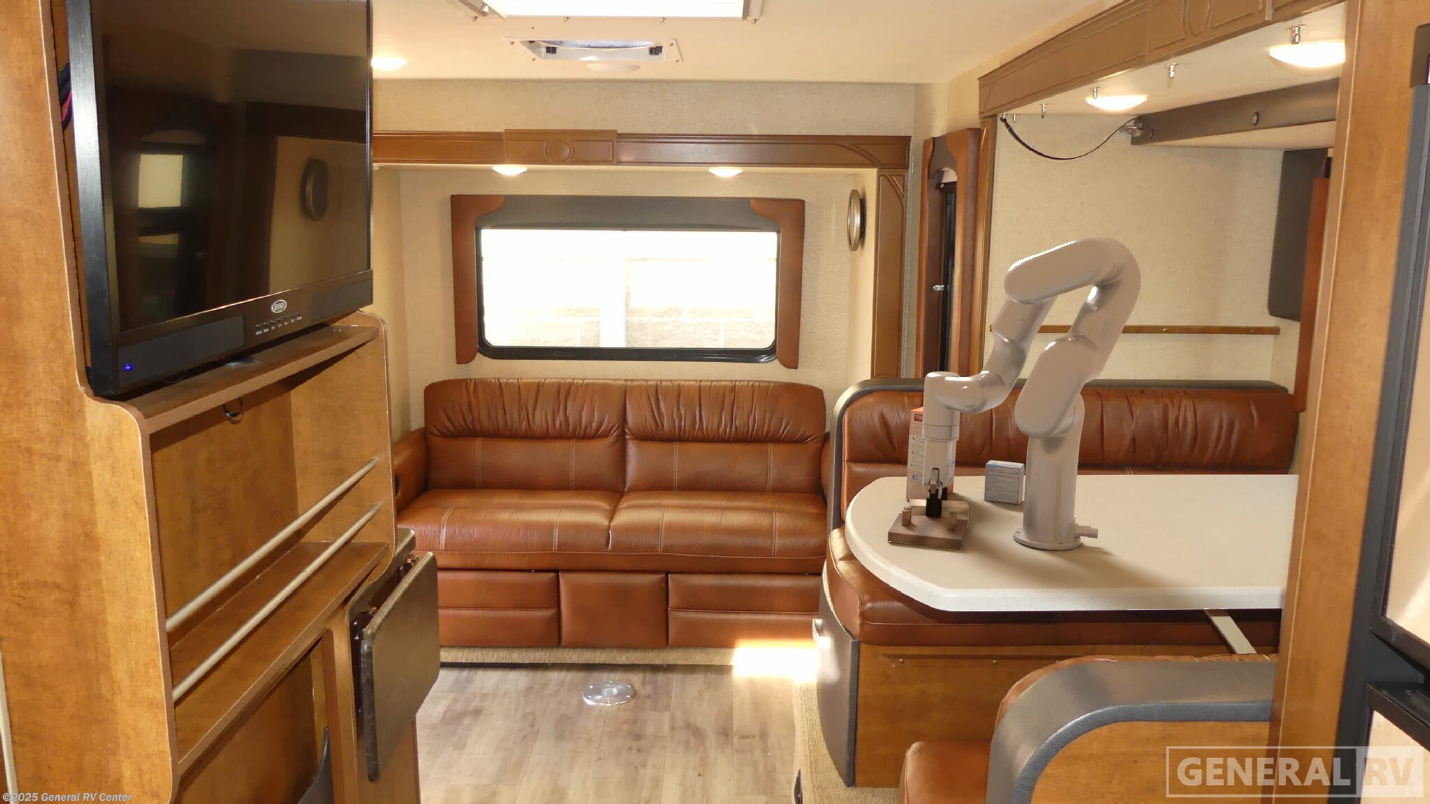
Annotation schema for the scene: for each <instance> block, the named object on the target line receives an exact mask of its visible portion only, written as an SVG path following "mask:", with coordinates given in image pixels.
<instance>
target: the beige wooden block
mask: <svg viewBox="0 0 1430 804" xmlns="http://www.w3.org/2000/svg"><path fill="white" fill-rule="evenodd" d="M908 507H912V515H923V516H926V500H919V499H909V500H908ZM949 511H956V512H957V519H963V520H968V526H969V523H970V522H969V520H970V506H969V503H968V501H963V500H961V501H960V500H947V501H944V500H942V516H941V517H943V518H948V514H949Z"/></svg>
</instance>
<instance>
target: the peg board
mask: <svg viewBox="0 0 1430 804" xmlns="http://www.w3.org/2000/svg"><path fill="white" fill-rule="evenodd" d="M968 526H969V525H968V520H963V519H957V512H956V511H949V514H948V518H943V517H941V518H936V517H927V516H923V515H912V507H909V506H904V507H903V509H902V510H901V512H900V513H898V514H897V516H896V519H894V522H893V523H892V525H891V527H890V528H889V530H888V532H887V542H888V541H891V542H890V543H894V542H902V543H901V544H903V543H907V544H906V545H912V544H916V545H915V546H924V547H934V548H941V549H952V550H962V547H963V545H964V544H963V543H964V541H965V538H966V535H967V532H968V528H969V527H968Z"/></svg>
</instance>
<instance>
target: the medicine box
mask: <svg viewBox="0 0 1430 804" xmlns="http://www.w3.org/2000/svg"><path fill="white" fill-rule="evenodd" d="M984 473H985V474H984V490H983V491H984V493H983V494H984V495H983V501H987V502H988V501H989V502H996V503H1002V504H1003V503H1004V504H1005V503H1006V504H1010V505H1011V504H1012V505H1020V504H1021V502H1022V501H1024V484H1025V480H1024V479H1025V464H1024V463H1019V462H1012V461H1011V462H1010V461H1002V460H988V462H986V464H985V472H984Z"/></svg>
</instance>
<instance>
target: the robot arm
mask: <svg viewBox="0 0 1430 804" xmlns="http://www.w3.org/2000/svg"><path fill="white" fill-rule="evenodd" d="M1141 284H1142V277H1141V270H1140V266H1139V263H1138V261H1137V259H1136V257H1135V256H1134V254H1133V253H1132V251H1131V250H1130V249H1129V247H1127V246H1126V245H1125V244H1123V243H1122V242H1121V241H1119V240H1117V239H1114V238H1113V237H1112V238H1111V237H1107V236H1106V237H1105V236H1097V237H1083V238H1078V239H1075V240H1072V241H1070V242H1067V243H1064V244H1061V245H1058V246H1056V247H1053V248H1050V249H1048V250H1044V251H1042V252H1040V253H1038V254H1034V255H1031V256H1028V257H1025V258H1024V259H1020V260H1018V261H1016V262H1015V263H1013V264H1012V265H1011V266H1010V267H1009V269H1008V270H1007V271H1006V274H1005V276H1004V280H1003V287H1004V292H1005V294H1006V296H1005V299H1004V300H1003V302H1002V304H1001V306H1000V307H999V309H998V311H997V313H996V315H995V317H994V318H993V320H992V322H991V324H990V325H991V327H990V328H991V332H992V334H993V338H994V341H993V342H994V343H993V346H992V350H991V352H990V355H989V357H988V359H987V360H986V362H985V363H984V366H983V367H982V369H981V371H980V372H979V373H978V374H974V375H970V376H965V377H961V376H960V375H959V374H957V373H956V372H951V371H932V372H929V373H927V374H926V376H925V378H924V383H923V384H924V385H923V386H924V388H923V406H922V407H923V423H922V438H923V439H926V445H925V454H924V466H923V478H922V485H923V486H924V487H925V486H926V485H928V483H929V485H928V493H927V498H926V516H927V517H936V518H941V516H942V500H944V501H948V494H947V492H948V487H947V483H948V481H949V478H950V472H951V462H952V446H953V441H956V442H957V441H959V440H960V439H959V438H960V421H961V413H964V414H967V415H968V414H969V415H976V414H981V413H983V412H985V411H988V410H991V409H994V408H996V407H998V406H1000V405H1001V404H1003V403H1004V402H1005V400H1006V399H1007V398H1008V397H1009V395H1010V393H1011V392H1012V390H1013V388H1014V386H1015V384H1016V383H1017V381H1018V379H1019V377H1021V374H1022V372H1023V370H1024V367H1025V366H1026V362H1027V359H1028V357H1029V356H1028V355H1029V353H1030V350H1031V347H1032V346H1031V345H1032V343H1033V341H1034V339H1035V337H1036V335H1037V334H1038V332H1039V330H1040V328H1041V326H1042V325H1043V323H1044V321H1045V320H1046V318H1047V316H1048V314H1049V312H1050V311H1051V309H1052V307H1053V306H1054V303H1055V302H1056V300H1057V298H1058V297H1059V296H1060V295H1063V294H1067V293H1069V292H1072V291H1076V290H1078V289H1082V288H1085V287H1089V286H1091V290H1090V292H1089V294H1088V295H1087V297H1086V299H1085V300H1084V301H1083V303H1082V304H1081V307H1080V308H1079V311H1078V312H1077V315H1076V317H1075V319H1074V320H1073V323H1072V324H1071V326H1070V328H1069V329H1068V331H1067V333H1066V334H1065V335H1063V336H1061V337H1057V338H1055V339H1054V340H1052V341H1050V342H1049V343H1048V344H1047V345H1046V346H1044V347H1045V348H1043V350H1042V351H1041V353H1040V354H1039V355H1038V357H1037V359H1036V361H1035V363H1034V364H1033V367H1032V369H1031V371H1030V373H1029V374H1028V377H1027V379H1026V381H1025V383H1024V385H1023V387H1022V389H1021V391H1020V393H1019V395H1018V397H1017V399H1016V402H1015V405H1014V412H1013V418H1014V422H1015V424H1016V426H1017V428H1018V429H1019V431H1020V432H1021V433H1022V434H1024V435H1025V436H1027V437H1028V443H1027V451H1026V464H1025V474H1024V479H1025V480H1024V491H1023V509H1022V510H1023V512H1022V526H1021V527H1019V528H1016V529H1015V530H1014V531H1013V538H1014V540H1015V541H1016V542H1018V543H1020V544H1022V545H1024V546H1027V547H1031V548H1036V549H1040V550H1048V551H1051V550H1052V551H1063V550H1064V551H1065V550H1071V549H1075V548H1078V547H1079V546H1080V545H1081V542H1082V541H1081V540H1082V537H1086V538H1090V539H1091V538H1092V539H1098V534H1099V528H1096V527H1092V525H1086V524H1084V525H1083V524H1081V525H1080V524H1079V523H1076V517H1075V508H1076V507H1075V505H1076V493H1077V492H1076V491H1077V479H1078V466H1079V465H1078V464H1079V452H1080V444H1081V438H1082V437H1081V435H1082V431H1083V426H1084V419H1085V414H1086V413H1085V412H1086V411H1085V410H1086V409H1085V402H1084V398H1083V396H1082V394H1081V392H1082V390H1083V387H1084V386H1085V384H1086V383H1089V382H1091V381H1093V380H1095V379H1096V378H1098V377H1099V376H1100V374H1101V373H1102V372H1103V371H1104V368H1105V366H1106V364H1107V362H1108V360H1109V358H1110V356H1111V354H1112V352H1113V350H1114V349H1115V346H1116V345H1117V342H1118V341H1119V338H1120V337H1121V335H1122V332H1123V330H1124V329H1125V328H1124V327H1126V324H1127V322H1128V320H1129V318H1130V317H1131V314H1132V313H1133V310H1134V308H1135V306H1136V304H1137V302H1138V298H1139V296H1140V291H1141V287H1142V286H1141Z"/></svg>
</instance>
